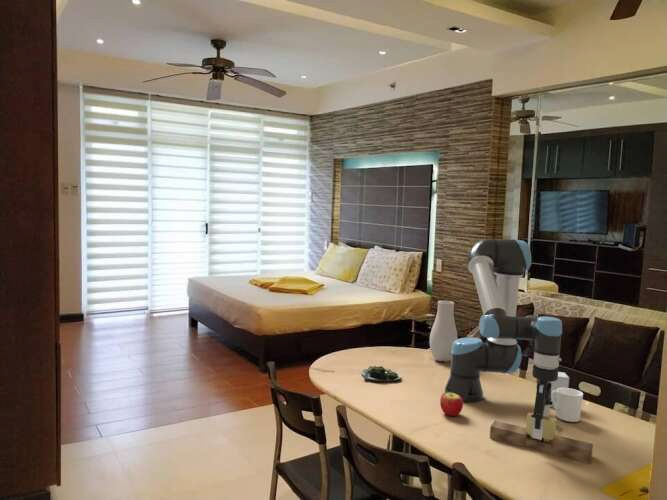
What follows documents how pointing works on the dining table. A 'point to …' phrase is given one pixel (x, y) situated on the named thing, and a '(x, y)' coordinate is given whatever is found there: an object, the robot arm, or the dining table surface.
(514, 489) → the dining table surface
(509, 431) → the rail
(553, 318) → the robot arm
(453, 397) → the apple
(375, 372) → the salad plate
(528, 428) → the beige block
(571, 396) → the mug
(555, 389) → the supplement box
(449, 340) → the vase
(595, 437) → the dining table surface
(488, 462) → the dining table surface
